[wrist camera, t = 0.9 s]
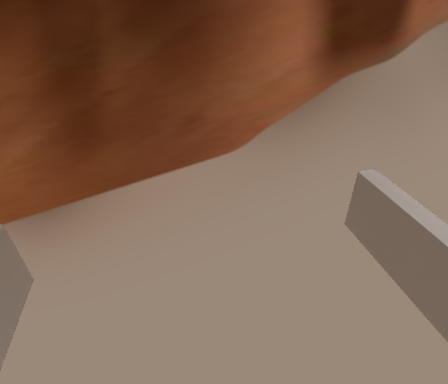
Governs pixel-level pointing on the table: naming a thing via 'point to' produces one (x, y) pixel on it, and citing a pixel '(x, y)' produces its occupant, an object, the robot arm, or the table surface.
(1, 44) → the table surface
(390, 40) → the table surface
